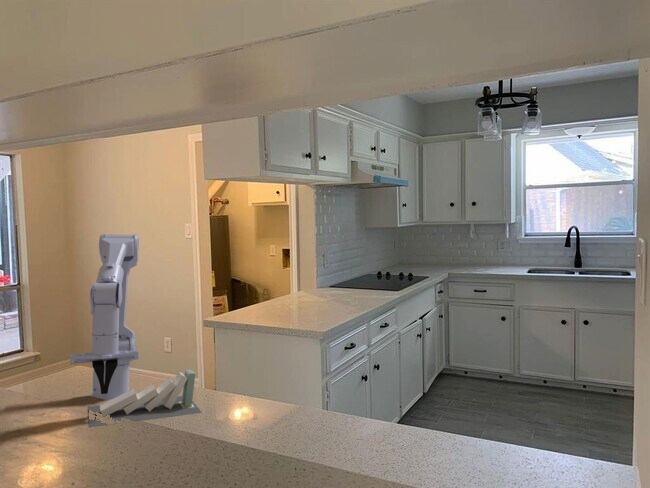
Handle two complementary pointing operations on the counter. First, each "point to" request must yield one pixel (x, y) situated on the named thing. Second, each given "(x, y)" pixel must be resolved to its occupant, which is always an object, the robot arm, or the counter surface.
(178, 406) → the mat
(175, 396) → the domino
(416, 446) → the counter surface
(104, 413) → the domino
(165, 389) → the domino
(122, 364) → the robot arm
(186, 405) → the domino
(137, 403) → the domino
